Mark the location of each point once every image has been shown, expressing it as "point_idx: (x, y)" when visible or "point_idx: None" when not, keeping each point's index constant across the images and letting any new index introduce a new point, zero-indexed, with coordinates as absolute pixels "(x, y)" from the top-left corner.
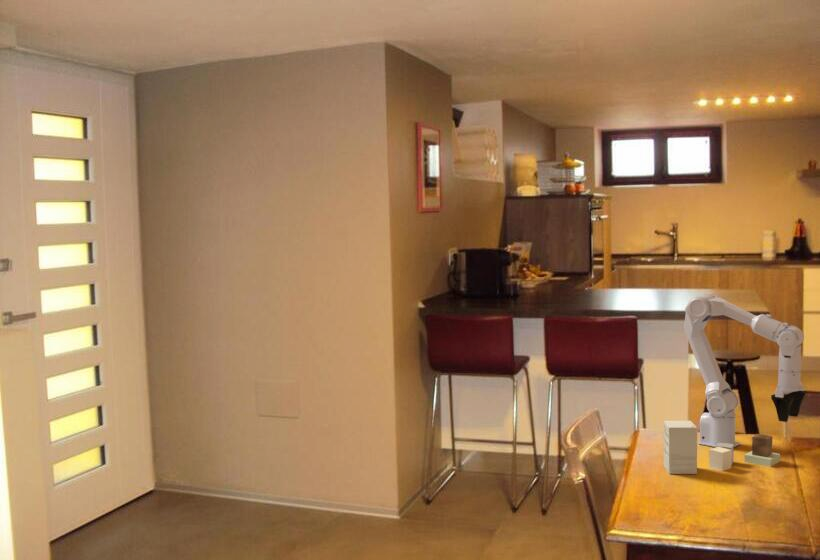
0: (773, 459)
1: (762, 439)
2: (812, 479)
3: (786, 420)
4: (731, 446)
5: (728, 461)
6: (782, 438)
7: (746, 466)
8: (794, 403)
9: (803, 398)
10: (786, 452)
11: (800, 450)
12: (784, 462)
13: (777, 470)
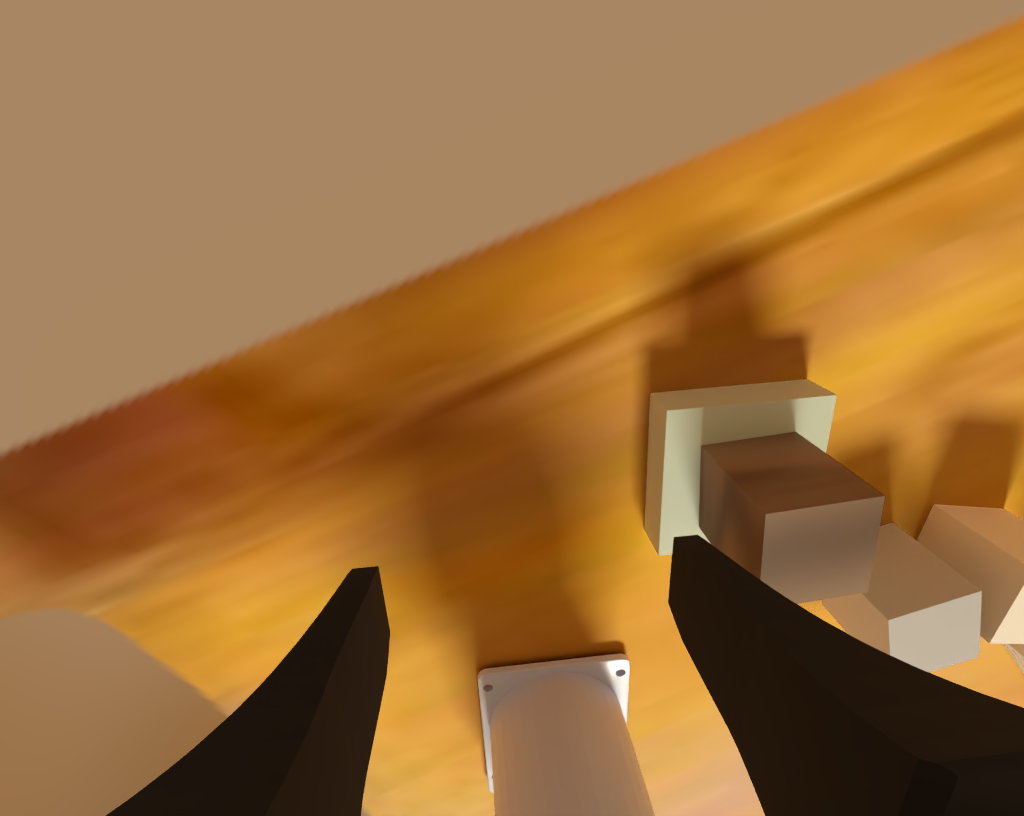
0: (781, 395)
1: (872, 524)
2: (953, 53)
3: (710, 544)
4: (950, 604)
5: (995, 530)
6: (148, 597)
7: (865, 469)
8: (345, 741)
9: (182, 764)
10: (436, 448)
11: (319, 410)
12: (663, 362)
13: (857, 318)
